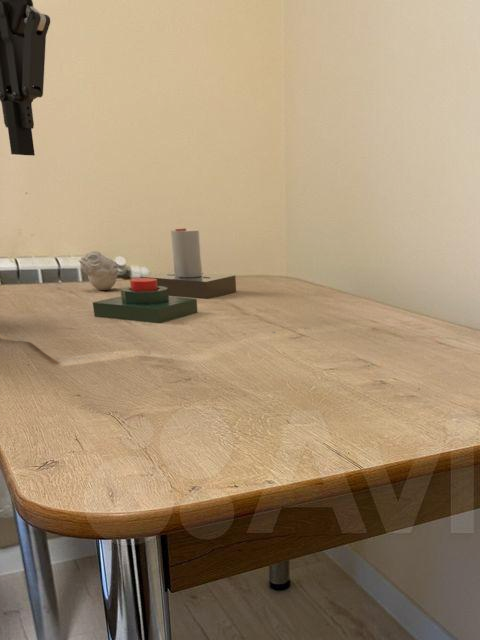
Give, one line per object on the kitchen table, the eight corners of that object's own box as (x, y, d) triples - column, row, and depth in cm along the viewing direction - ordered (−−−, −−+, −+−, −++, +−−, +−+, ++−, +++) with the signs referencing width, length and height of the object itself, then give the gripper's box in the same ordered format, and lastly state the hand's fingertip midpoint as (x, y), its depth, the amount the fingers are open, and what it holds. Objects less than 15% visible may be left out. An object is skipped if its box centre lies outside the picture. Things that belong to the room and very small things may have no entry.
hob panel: (142, 293, 130) (140, 275, 129) (174, 286, 138) (172, 269, 137) (207, 299, 125) (205, 280, 124) (236, 291, 134) (235, 274, 133)
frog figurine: (78, 289, 133) (73, 250, 130) (115, 286, 137) (111, 249, 134) (88, 293, 129) (83, 253, 126) (126, 290, 133) (122, 252, 130)
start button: (125, 292, 108) (124, 280, 108) (142, 288, 112) (141, 277, 111) (147, 294, 107) (146, 282, 106) (163, 290, 110) (162, 279, 110)
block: (94, 316, 108) (90, 290, 107) (136, 306, 117) (133, 282, 115) (159, 323, 104) (156, 295, 103) (197, 312, 113) (195, 287, 111)
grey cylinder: (185, 273, 134) (181, 226, 130) (207, 275, 132) (204, 228, 129) (169, 276, 129) (164, 228, 126) (191, 278, 128) (188, 229, 124)
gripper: (-68, -56, 88) (-35, 152, 97) (12, -64, 84) (38, 154, 93) (-18, -39, 95) (9, 154, 104) (58, -45, 90) (79, 157, 100)
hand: (23, 154), depth 98 cm, fingers closed
